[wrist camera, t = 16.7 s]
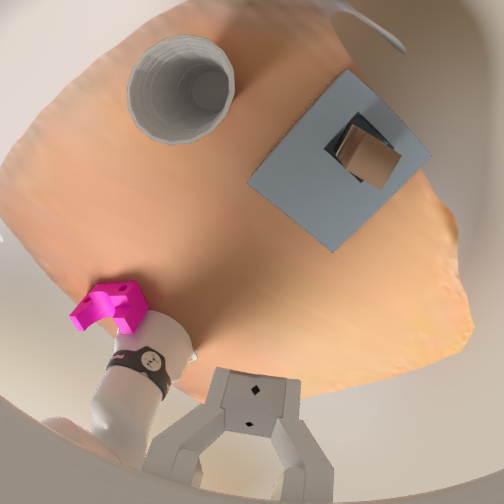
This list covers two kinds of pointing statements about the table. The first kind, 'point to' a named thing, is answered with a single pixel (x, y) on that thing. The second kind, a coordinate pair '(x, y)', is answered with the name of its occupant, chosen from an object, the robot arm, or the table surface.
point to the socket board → (335, 163)
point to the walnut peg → (366, 156)
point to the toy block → (112, 306)
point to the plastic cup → (180, 89)
